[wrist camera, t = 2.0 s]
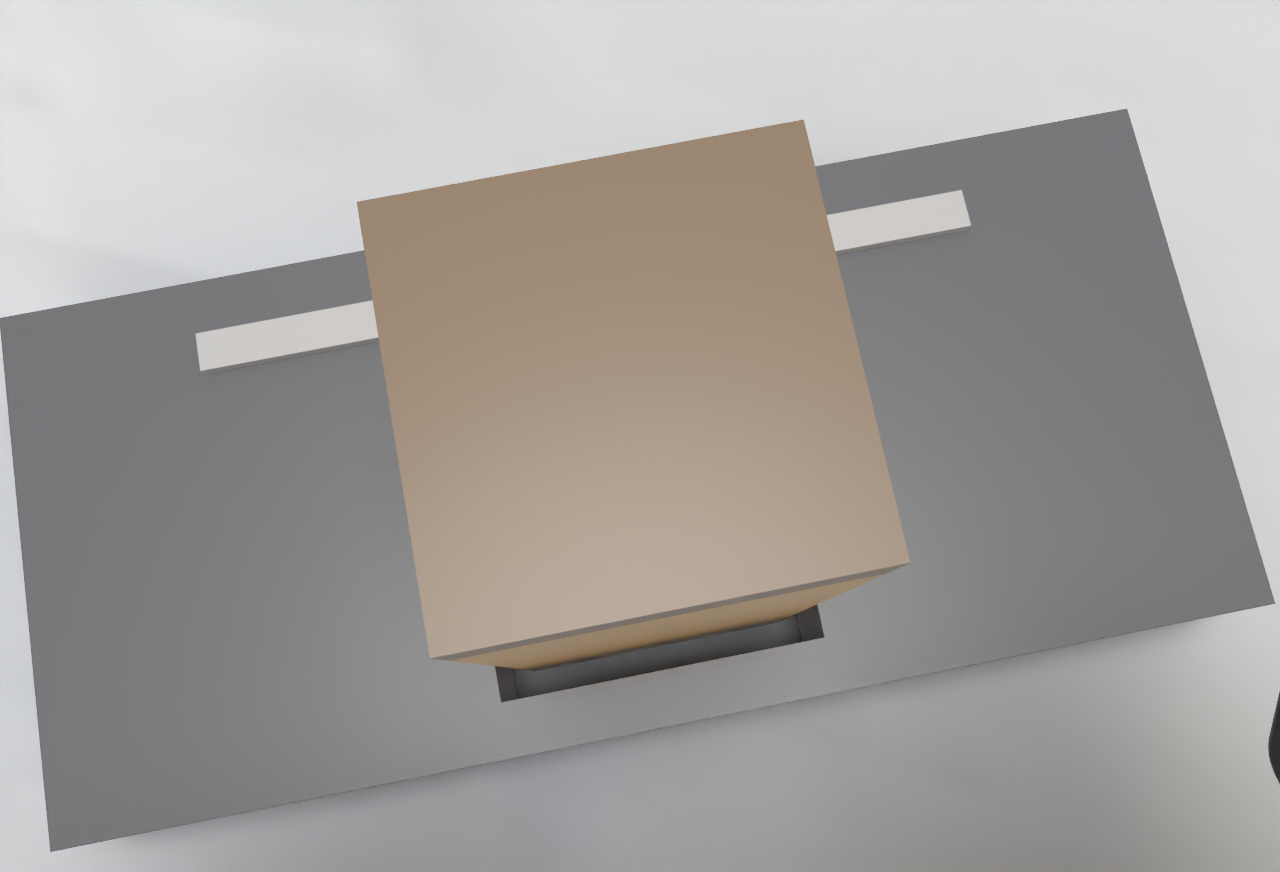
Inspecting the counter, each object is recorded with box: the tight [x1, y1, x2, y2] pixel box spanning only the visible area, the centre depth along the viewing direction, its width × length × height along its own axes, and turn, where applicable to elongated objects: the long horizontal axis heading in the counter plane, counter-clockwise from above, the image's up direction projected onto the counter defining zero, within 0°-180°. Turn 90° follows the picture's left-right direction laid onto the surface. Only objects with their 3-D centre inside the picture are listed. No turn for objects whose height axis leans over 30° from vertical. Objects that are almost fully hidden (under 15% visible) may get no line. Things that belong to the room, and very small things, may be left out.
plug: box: [357, 120, 910, 671], centre depth 15 cm, size 4×4×10 cm
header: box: [0, 109, 1275, 852], centre depth 19 cm, size 8×18×3 cm, turn 101°
